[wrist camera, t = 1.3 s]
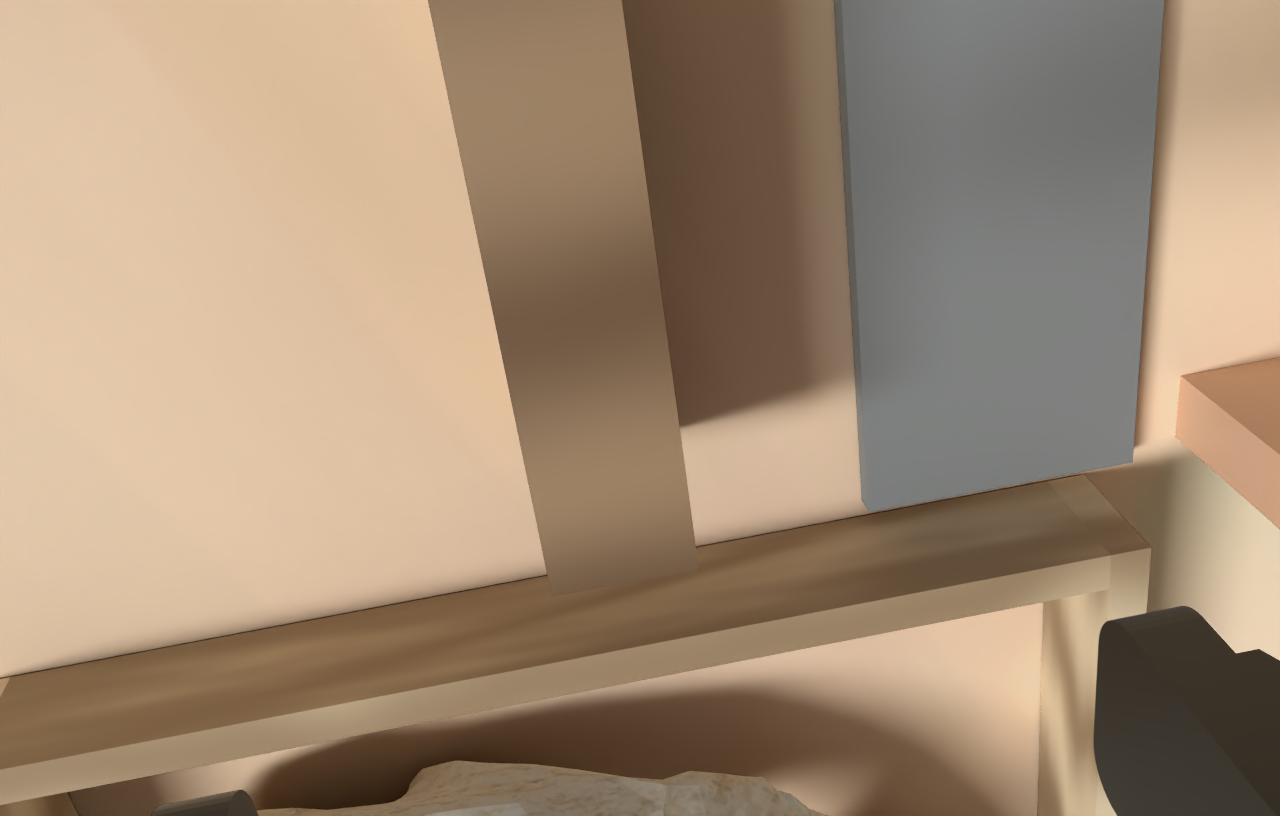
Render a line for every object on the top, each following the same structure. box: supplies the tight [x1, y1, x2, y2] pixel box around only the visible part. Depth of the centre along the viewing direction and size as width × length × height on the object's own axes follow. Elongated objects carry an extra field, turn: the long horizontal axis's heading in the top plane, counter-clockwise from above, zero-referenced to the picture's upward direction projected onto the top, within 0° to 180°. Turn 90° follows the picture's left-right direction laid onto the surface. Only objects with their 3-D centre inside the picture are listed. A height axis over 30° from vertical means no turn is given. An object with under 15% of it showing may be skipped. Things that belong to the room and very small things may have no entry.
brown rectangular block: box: [428, 0, 699, 597], centre depth 24 cm, size 12×3×6 cm, turn 8°
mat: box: [834, 0, 1164, 512], centre depth 28 cm, size 14×7×1 cm, turn 8°
